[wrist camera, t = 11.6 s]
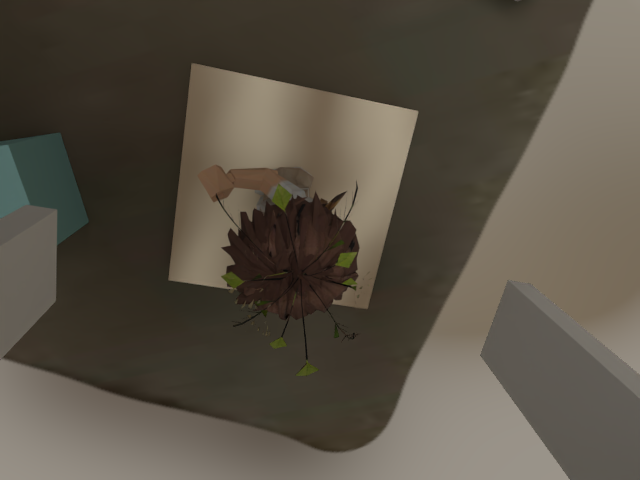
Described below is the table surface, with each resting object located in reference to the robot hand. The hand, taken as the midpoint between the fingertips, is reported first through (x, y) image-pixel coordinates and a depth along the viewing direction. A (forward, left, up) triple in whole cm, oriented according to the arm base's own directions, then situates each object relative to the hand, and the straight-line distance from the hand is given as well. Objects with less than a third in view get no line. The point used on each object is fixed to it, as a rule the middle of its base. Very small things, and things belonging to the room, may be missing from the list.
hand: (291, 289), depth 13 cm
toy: (0, 0, -13) cm, 13 cm away
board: (0, 0, -14) cm, 14 cm away
